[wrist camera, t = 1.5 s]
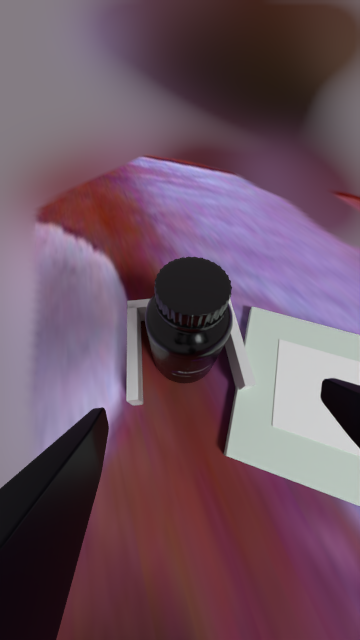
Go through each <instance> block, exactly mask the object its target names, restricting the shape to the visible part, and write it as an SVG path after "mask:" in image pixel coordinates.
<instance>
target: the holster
mask: <svg viewBox="0 0 360 640" xmlns="http://www.w3.org/2000/svg"><path fill="white" fill-rule="evenodd" d="M149 301H150V299H143V300H132V301H127V399H126V401H127V402H129V403H130V404H132V405H141V404H143V379H142V346H141V321H145V311H146V307H147V305H148V302H149ZM228 303H229V305H230V307H231V310H232V315H233V326H232V330H231V333H230V335H229V338H228V340H227V341H226V343H225V348H226V352H227V356H228V360H229V364H230V368H231V371H232V375H233V379H234V383H235V387H239V390H245V389H250V388H251V387H253V386H255V385H256V382H255V379H254V376H253V372H252V369H251V366H250V362H249V359H248V356H247V352H246V349H245V346H244V343H243V339H242V336H241V333H240V329H239V326H238V323H237V320H236V316H235V313H234V310H233V306H232V303H231V300H230V299H229V302H228Z"/></svg>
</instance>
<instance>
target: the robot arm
mask: <svg viewBox="0 0 360 640" xmlns="http://www.w3.org/2000/svg"><path fill="white" fill-rule="evenodd" d="M320 397H321V400H322V402H323V404H324V405H325V406H326V407H327V409H328V410H329V411H330V413H331V414H332V415H333V417H334V418H335V419H336V420H337V422H338V423H339V424H340V426H341V427H342V428H343V430H344V431H345V432H346V433H347V435H348V436H349V437H350V438H351V439H352V441H353V442H354V443H355V444H356V445H357V446H358V447H359V448H360V385H357V384H353V383H350V382H346V381H343V380H340V379H336V378H328V379H324V380H323V381H322V386H321V394H320ZM108 430H109V426H108V420H107V416H106V411H105V409H104V408H95V409H92V410H91V411H90V412H89V413H88V414H86V415H85V416H84V417H83V418H82V419H81V420H79V421H78V422H77V423H76V424H75V425H74V426H72V427H71V428H70V429H69V430H68V431H67V432H66V433H64V434H63V435H62V436H61V437H60V438H59V439H57V440H56V441H55V442H54V443H53V444H52V445H50V446H49V447H48V448H47V449H46V450H45V451H43V452H42V453H41V454H40V455H39V456H38V457H37V458H35V459H34V460H33V461H32V462H31V463H30V464H28V465H27V466H26V467H25V468H24V469H23V470H21V471H20V472H19V473H18V474H17V475H16V476H14V477H13V478H12V479H11V480H10V481H9V482H7V483H6V484H5V485H4V486H3V487H2V488H1V489H0V640H56V638H57V635H58V631H59V627H60V624H61V620H62V616H63V613H64V609H65V605H66V602H67V598H68V594H69V591H70V587H71V583H72V580H73V576H74V572H75V569H76V565H77V561H78V558H79V554H80V550H81V547H82V543H83V539H84V536H85V532H86V528H87V525H88V521H89V517H90V514H91V510H92V506H93V503H94V499H95V495H96V492H97V488H98V484H99V480H100V476H101V472H102V466H103V460H104V455H105V449H106V443H107V437H108Z"/></svg>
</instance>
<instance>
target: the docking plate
mask: <svg viewBox="0 0 360 640" xmlns="http://www.w3.org/2000/svg"><path fill="white" fill-rule="evenodd" d="M244 346H245V349H246V352H247V356H248V359H249V362H250V366H251V369H252V372H253V376H254V379H255V382H256V385H255V386H253V387H251V388H250V389H245V390H239V387H236V389H235V395H234V400H233V406H232V412H231V417H230V423H229V428H228V434H227V440H226V445H225V451H224V455H225V456H228V457H231V458H233V459H236V460H239V461H241V462H244V463H246V464H249V465H252V466H254V467H257V468H260V469H262V470H265V471H268V472H270V473H273V474H276V475H278V476H281V477H284V478H286V479H289V480H292V481H294V482H297V483H300V484H302V485H305V486H308V487H310V488H313V489H316V490H318V491H321V492H324V493H326V494H329V495H332V496H334V497H337V498H340V499H342V500H345V501H348V502H350V503H353V504H356V505H358V506H360V448H359V447H358V446H357V445H356V444H355V443H354V442H353V441H352V439H351V438H350V437H349V436H348V435H347V433H346V432H345V431H344V430H343V428H342V427H341V426H340V424H339V423H338V422H337V420H336V419H335V418H334V417H333V415H332V414H331V413H330V411H329V410H328V409H327V407H326V406H325V405H324V404H323V402H322V400H321V397H320V394H321V386H322V381H323V380H324V379H328V378H336V379H340V380H343V381H346V382H350V383H353V384H357V385H360V335H358V334H354V333H350V332H346V331H343V330H339V329H335V328H331V327H327V326H324V325H320V324H316V323H312V322H309V321H305V320H301V319H297V318H293V317H290V316H286V315H282V314H278V313H275V312H271V311H267V310H263V309H259V308H256V307H251V309H250V311H249V316H248V322H247V328H246V333H245V339H244Z"/></svg>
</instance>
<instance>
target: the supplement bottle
mask: <svg viewBox="0 0 360 640" xmlns="http://www.w3.org/2000/svg"><path fill="white" fill-rule="evenodd" d="M230 284H231V281H230V280H229V277H228V275H227V274H226V273H225V271H224V270H222V269H221V267H220V266H218V265H216V264H215V263H214V262H211V261H209V260H205V259H203V258H197V257H186V258H180V259H175V260H174V261H171V262H169V263H168V264H167V265H164V267H163V268H162V269H161V270H160V272H159V273H158V274H157V278H156V280H155V287H154V289H155V294H154V295H153V296H152V297H151V299H150V301H149V302H148V305H147V307H146V311H145V325H146V330H147V334H148V338H149V342H150V347H151V351H152V355H153V359H154V362H155V364H156V366H157V368H158V370H159V371H160V372H161V374H163V375H164V376H165V377H166V378H168V379H169V380H172V381H174V382H178V383H191V382H195V381H198V380H200V379H201V378H203V377H204V376H205V375H206V374H207V373H208V372H209V371H210V369H211V368H212V366H213V365H214V363H215V361H216V359H217V358H218V356H219V354H220V352H221V350H222V349H223V347H224V345H225V343H226V341H227V340H228V338H229V335H230V333H231V330H232V326H233V315H232V310H231V307H230V305H229V303H228V302H229V299H230V297H231V289H232V287H231V285H230Z"/></svg>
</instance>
